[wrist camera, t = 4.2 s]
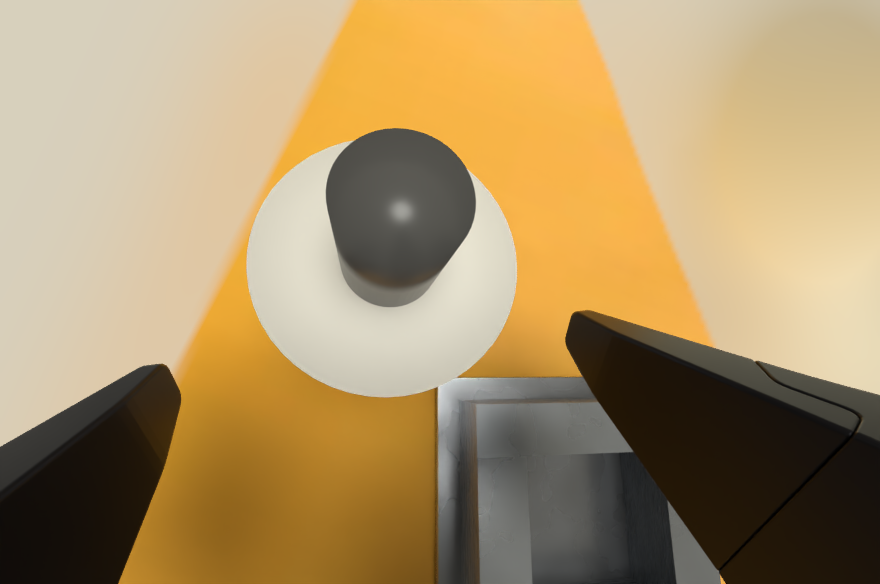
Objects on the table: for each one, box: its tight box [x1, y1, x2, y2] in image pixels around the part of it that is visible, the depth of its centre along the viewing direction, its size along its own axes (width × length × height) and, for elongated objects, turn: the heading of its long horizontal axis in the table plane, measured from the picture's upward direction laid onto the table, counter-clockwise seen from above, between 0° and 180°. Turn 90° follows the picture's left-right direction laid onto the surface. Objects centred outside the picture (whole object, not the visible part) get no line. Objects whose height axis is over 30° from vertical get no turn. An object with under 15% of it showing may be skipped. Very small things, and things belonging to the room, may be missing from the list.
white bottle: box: [247, 128, 517, 397], centre depth 12 cm, size 5×5×15 cm
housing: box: [436, 377, 721, 584], centre depth 17 cm, size 12×12×4 cm
